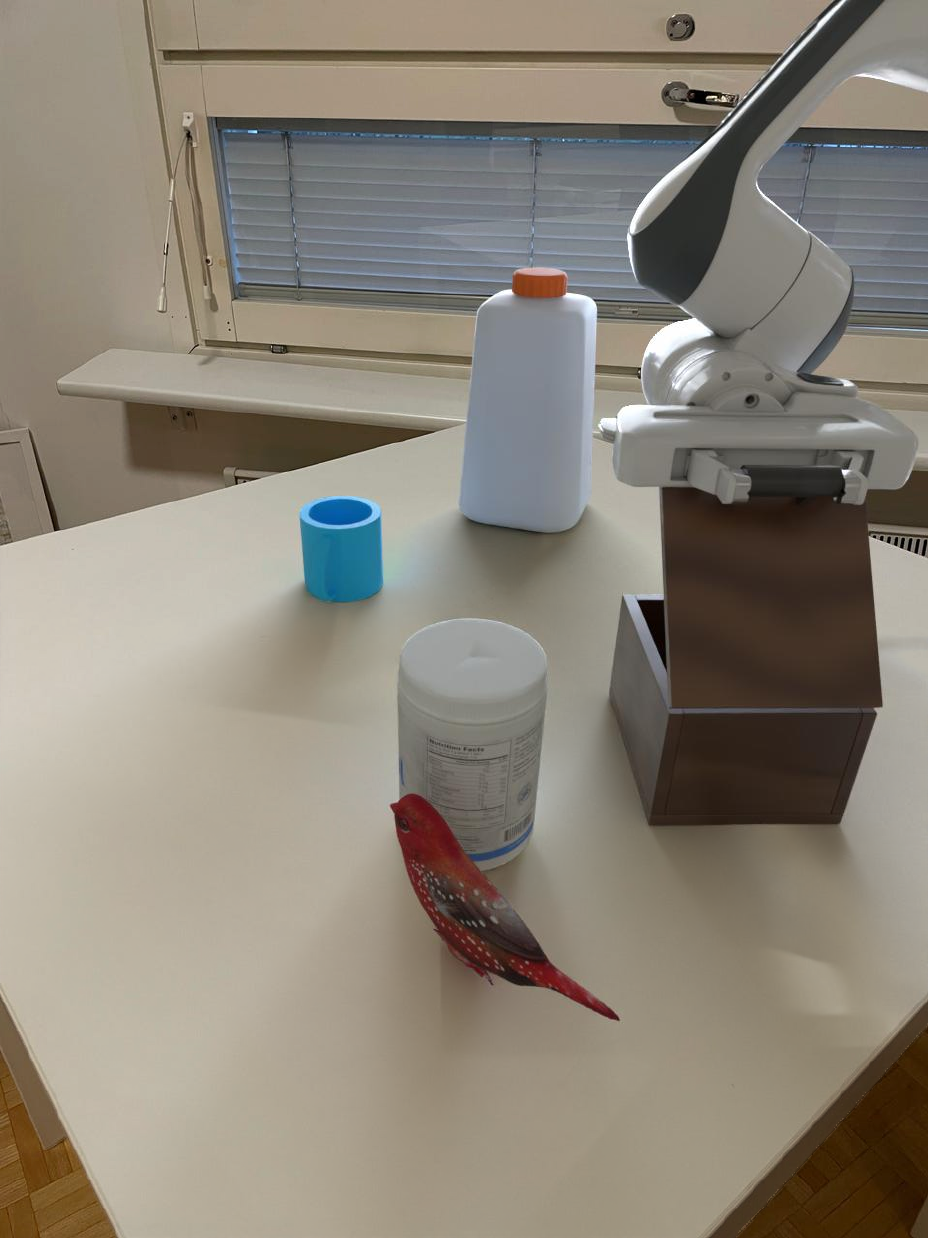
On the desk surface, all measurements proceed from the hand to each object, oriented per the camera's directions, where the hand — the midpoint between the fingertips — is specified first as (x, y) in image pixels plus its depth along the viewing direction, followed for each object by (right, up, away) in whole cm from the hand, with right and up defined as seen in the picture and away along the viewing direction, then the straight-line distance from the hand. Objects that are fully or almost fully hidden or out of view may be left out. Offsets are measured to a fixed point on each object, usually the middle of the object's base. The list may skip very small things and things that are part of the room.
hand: (797, 493), depth 54 cm
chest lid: (0, -5, +5) cm, 7 cm away
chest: (-1, -18, +15) cm, 24 cm away
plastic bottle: (-13, +6, +56) cm, 58 cm away
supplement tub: (-20, -23, +8) cm, 31 cm away
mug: (-34, -5, +36) cm, 50 cm away
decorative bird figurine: (-19, -29, -3) cm, 35 cm away
